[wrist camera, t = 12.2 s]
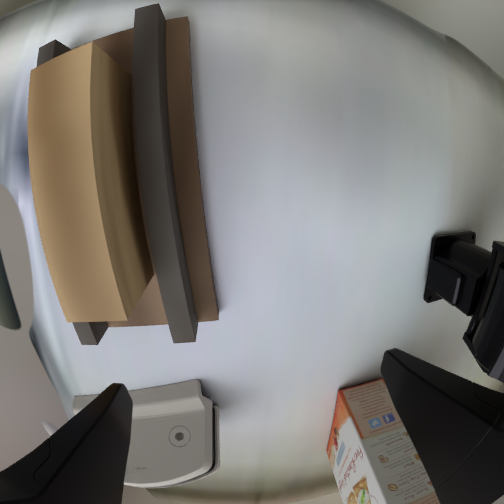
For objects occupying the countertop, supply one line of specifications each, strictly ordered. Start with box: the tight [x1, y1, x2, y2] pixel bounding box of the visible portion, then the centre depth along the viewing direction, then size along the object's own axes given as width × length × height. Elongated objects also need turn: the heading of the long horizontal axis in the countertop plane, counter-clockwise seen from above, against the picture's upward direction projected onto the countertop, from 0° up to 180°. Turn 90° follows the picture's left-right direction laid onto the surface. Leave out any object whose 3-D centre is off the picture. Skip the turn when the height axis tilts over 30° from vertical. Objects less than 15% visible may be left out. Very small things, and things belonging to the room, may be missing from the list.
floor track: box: [37, 3, 219, 345], centre depth 15 cm, size 12×22×4 cm, turn 5°
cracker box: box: [327, 378, 440, 504], centre depth 17 cm, size 14×6×21 cm, turn 5°
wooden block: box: [28, 42, 154, 322], centre depth 13 cm, size 4×14×6 cm, turn 5°
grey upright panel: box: [73, 379, 220, 488], centre depth 20 cm, size 17×5×10 cm, turn 107°
